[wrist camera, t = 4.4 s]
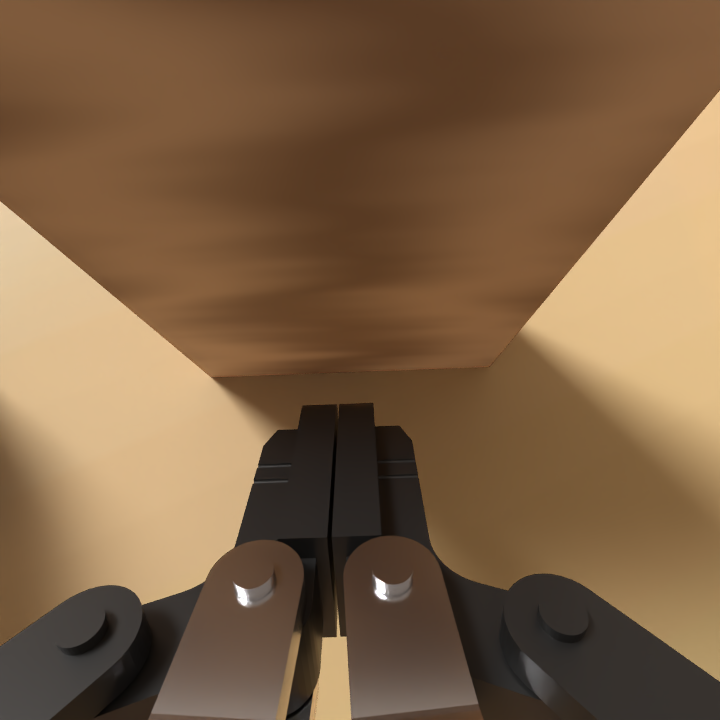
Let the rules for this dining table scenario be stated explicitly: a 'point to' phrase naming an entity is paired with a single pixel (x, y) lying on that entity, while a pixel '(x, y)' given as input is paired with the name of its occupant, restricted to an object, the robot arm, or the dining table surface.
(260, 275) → the wooden block
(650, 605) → the dining table surface
